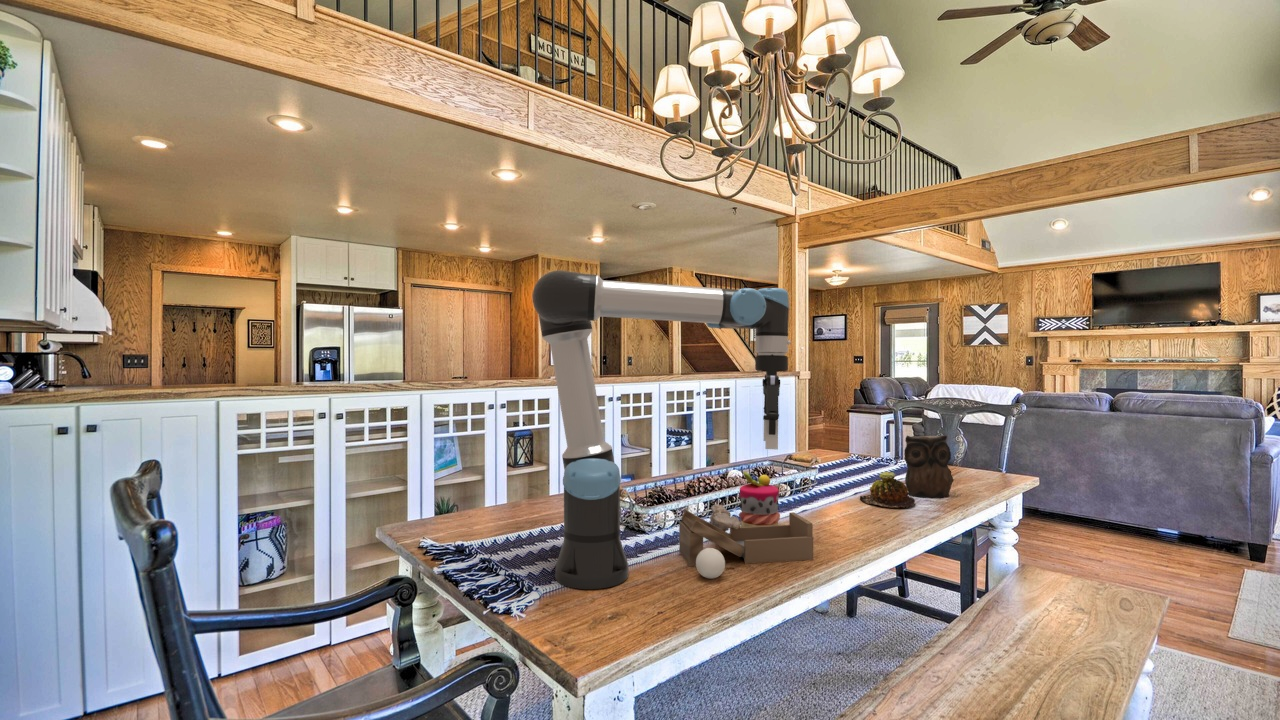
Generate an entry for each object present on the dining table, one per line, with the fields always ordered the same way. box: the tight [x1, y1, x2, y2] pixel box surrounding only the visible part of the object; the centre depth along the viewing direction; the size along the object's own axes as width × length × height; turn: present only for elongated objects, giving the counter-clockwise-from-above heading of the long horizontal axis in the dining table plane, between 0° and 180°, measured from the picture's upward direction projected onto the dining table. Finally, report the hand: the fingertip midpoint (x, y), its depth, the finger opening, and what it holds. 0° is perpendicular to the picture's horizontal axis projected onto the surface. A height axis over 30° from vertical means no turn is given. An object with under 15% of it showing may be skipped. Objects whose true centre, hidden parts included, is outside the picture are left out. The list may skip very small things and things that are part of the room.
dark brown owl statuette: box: [903, 434, 954, 499], centre depth 198 cm, size 13×13×20 cm
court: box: [729, 512, 814, 565], centre depth 138 cm, size 16×11×8 cm, turn 100°
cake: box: [738, 471, 781, 527], centre depth 159 cm, size 10×11×15 cm
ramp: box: [678, 509, 745, 567], centre depth 136 cm, size 13×10×10 cm
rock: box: [709, 503, 741, 532], centre depth 147 cm, size 6×14×7 cm, turn 4°
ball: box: [695, 547, 726, 580], centre depth 123 cm, size 6×6×6 cm
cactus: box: [859, 471, 916, 509], centre depth 188 cm, size 17×16×10 cm
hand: (770, 445), depth 141 cm, fingers open, 13 cm apart
